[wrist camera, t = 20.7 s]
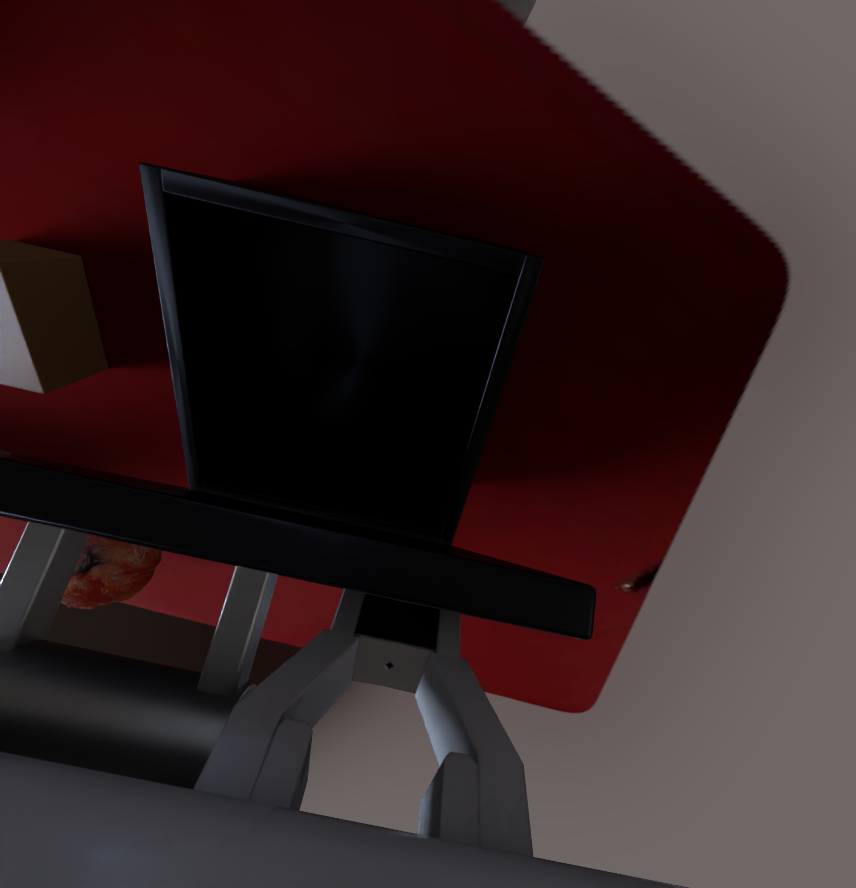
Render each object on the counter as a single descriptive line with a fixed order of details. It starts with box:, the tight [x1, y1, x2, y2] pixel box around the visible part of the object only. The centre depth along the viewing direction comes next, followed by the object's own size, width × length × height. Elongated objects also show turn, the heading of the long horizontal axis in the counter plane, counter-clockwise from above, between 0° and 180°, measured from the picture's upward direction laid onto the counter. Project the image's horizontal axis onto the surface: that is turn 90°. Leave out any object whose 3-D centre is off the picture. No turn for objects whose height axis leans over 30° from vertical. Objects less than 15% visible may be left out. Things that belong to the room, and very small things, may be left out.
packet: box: [0, 240, 108, 394], centre depth 22 cm, size 7×4×4 cm, turn 169°
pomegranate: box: [61, 535, 161, 609], centre depth 30 cm, size 7×7×10 cm
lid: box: [0, 451, 596, 790], centre depth 13 cm, size 16×16×5 cm
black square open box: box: [139, 162, 545, 545], centre depth 21 cm, size 16×16×6 cm
